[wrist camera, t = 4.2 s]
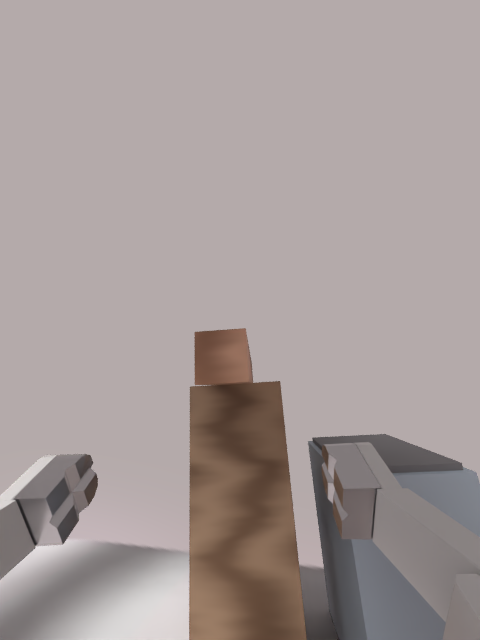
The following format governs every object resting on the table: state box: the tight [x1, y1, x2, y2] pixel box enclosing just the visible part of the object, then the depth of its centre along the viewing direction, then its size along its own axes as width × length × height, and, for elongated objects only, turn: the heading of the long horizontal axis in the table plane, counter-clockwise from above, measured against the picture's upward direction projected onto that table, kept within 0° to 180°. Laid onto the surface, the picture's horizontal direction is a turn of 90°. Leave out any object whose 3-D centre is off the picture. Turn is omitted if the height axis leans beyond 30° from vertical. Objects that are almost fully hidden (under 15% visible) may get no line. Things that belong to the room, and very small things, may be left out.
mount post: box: [189, 381, 307, 640], centre depth 23 cm, size 8×12×24 cm, turn 176°
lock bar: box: [195, 328, 253, 385], centre depth 24 cm, size 3×22×3 cm, turn 176°
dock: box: [308, 434, 480, 640], centre depth 21 cm, size 10×12×17 cm
